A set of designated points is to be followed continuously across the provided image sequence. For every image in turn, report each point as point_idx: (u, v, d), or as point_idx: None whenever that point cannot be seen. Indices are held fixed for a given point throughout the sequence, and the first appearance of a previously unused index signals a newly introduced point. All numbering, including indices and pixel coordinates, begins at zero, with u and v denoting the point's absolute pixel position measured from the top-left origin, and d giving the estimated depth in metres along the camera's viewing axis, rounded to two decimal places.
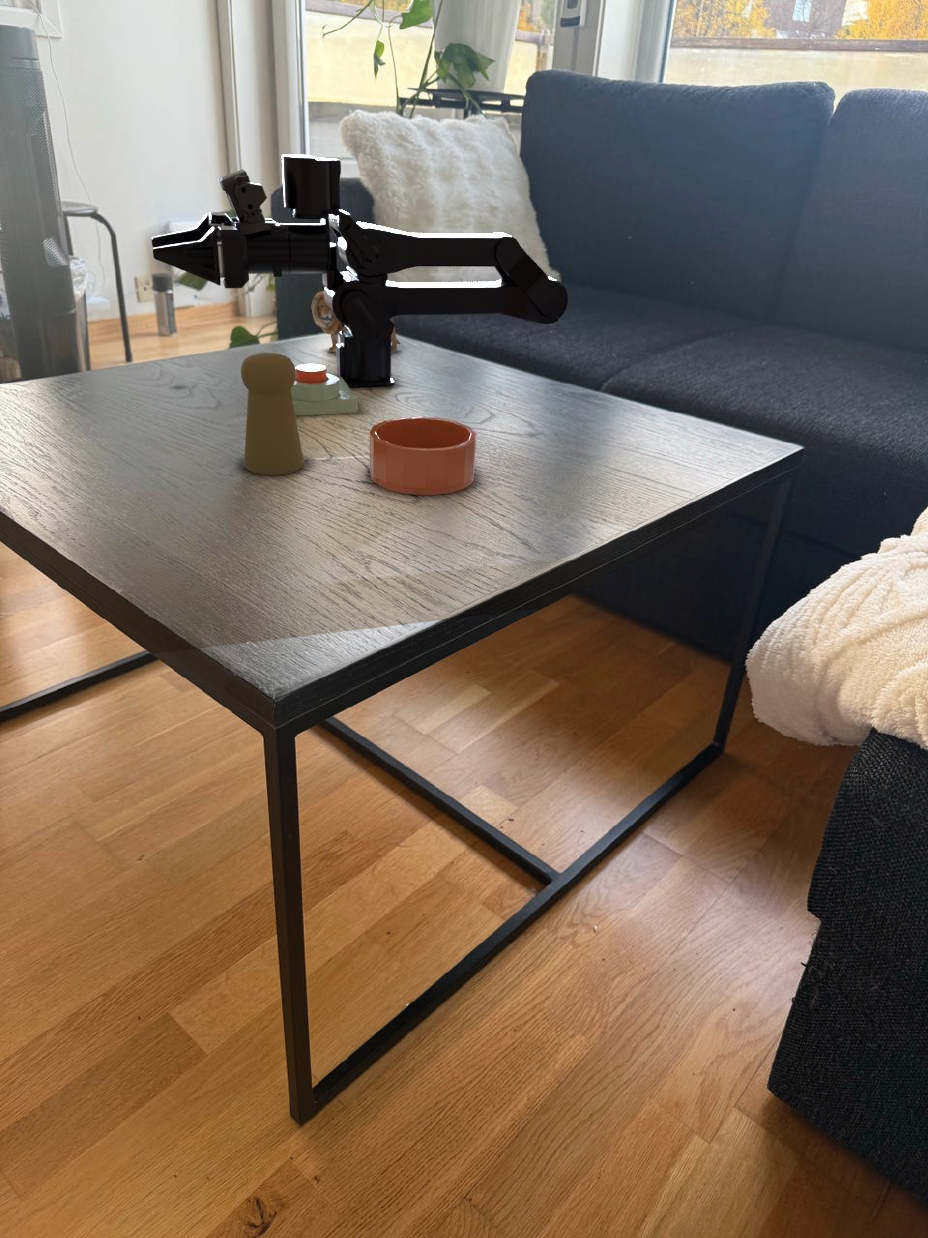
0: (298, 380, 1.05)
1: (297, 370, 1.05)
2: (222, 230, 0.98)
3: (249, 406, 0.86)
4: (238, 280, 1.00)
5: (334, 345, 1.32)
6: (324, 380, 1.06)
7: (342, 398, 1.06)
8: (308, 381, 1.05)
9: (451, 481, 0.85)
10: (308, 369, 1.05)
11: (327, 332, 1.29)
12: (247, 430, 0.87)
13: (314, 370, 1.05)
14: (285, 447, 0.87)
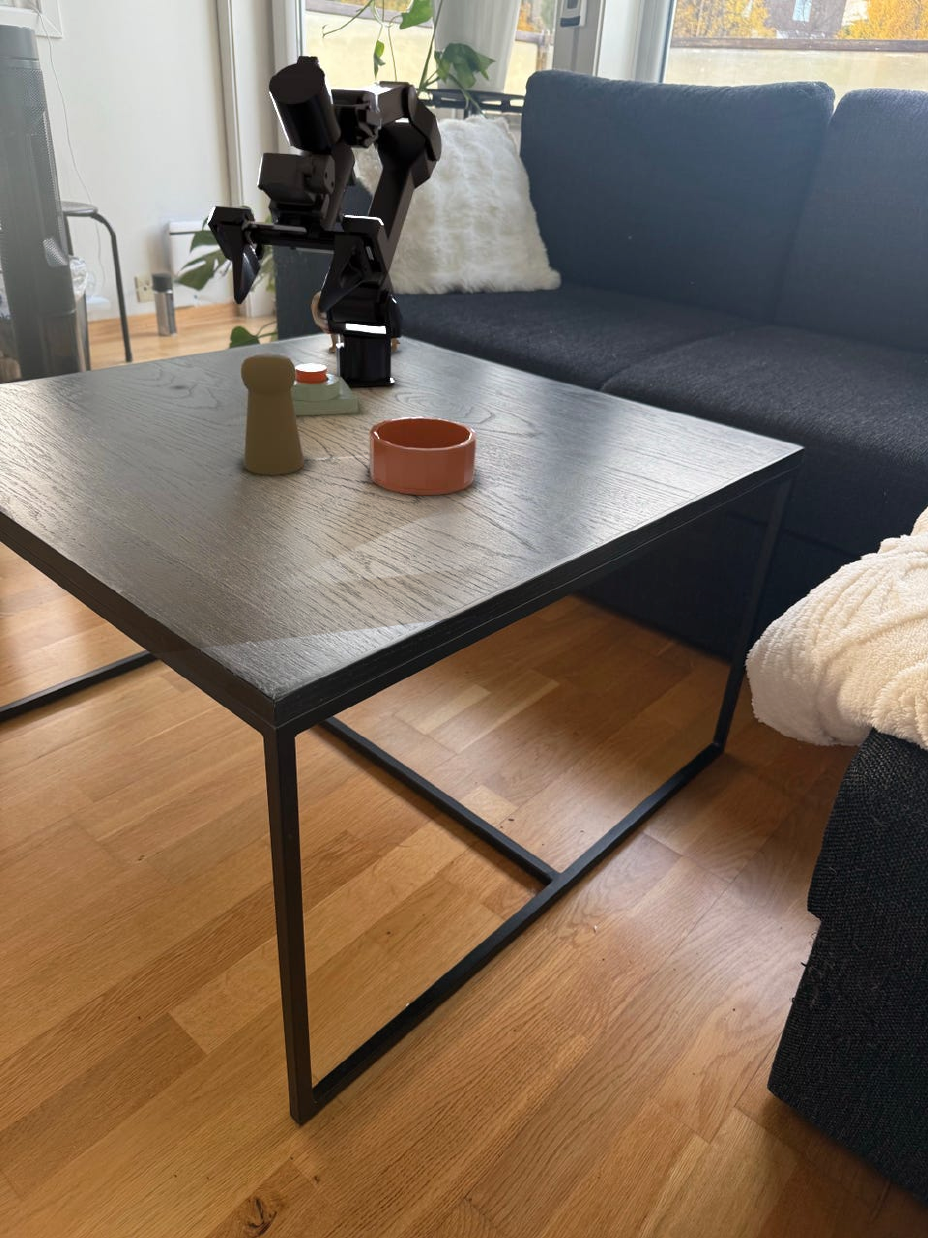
0: (298, 380, 1.05)
1: (297, 370, 1.05)
2: (371, 232, 0.89)
3: (249, 406, 0.86)
4: (390, 258, 0.94)
5: (334, 345, 1.32)
6: (324, 380, 1.06)
7: (342, 398, 1.06)
8: (308, 381, 1.05)
9: (451, 481, 0.85)
10: (308, 369, 1.05)
11: (327, 332, 1.29)
12: (247, 430, 0.87)
13: (314, 370, 1.05)
14: (285, 447, 0.87)
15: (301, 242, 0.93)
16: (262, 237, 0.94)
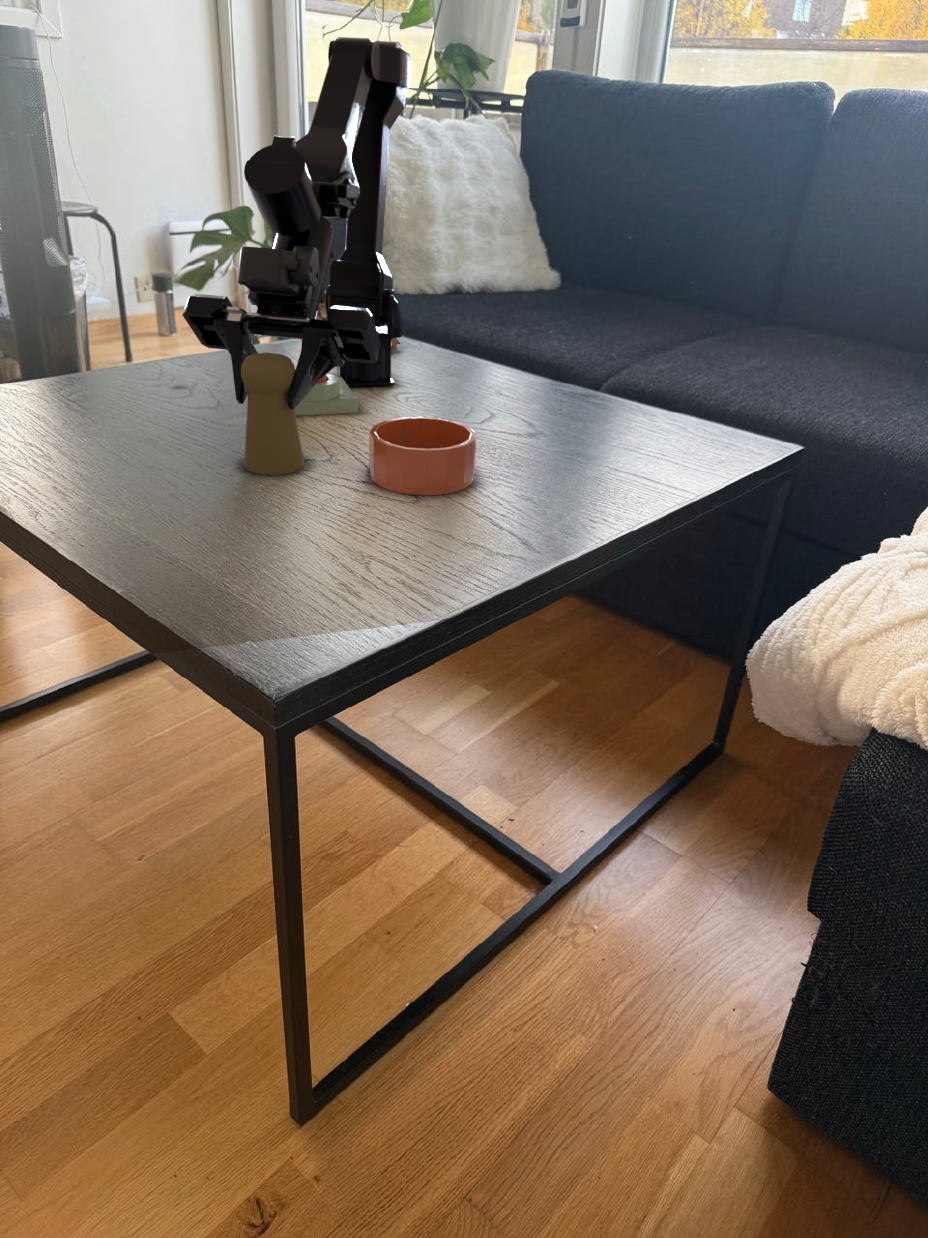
0: None
1: None
2: (361, 326, 0.84)
3: (249, 406, 0.86)
4: (378, 345, 0.89)
5: None
6: (324, 380, 1.06)
7: (342, 398, 1.06)
8: None
9: (451, 481, 0.85)
10: None
11: None
12: (247, 430, 0.87)
13: None
14: (285, 447, 0.87)
15: (285, 332, 0.88)
16: None
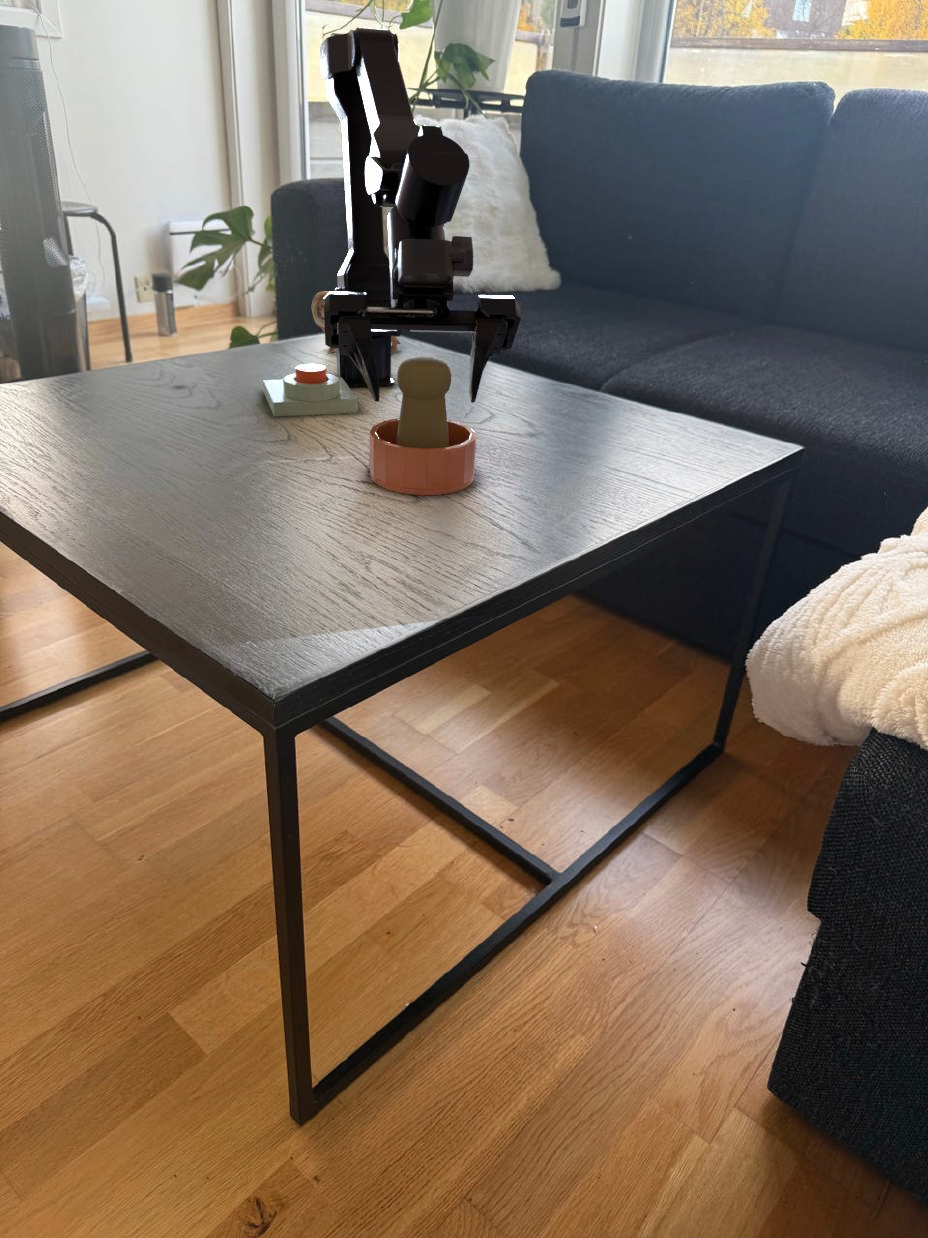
0: (298, 380, 1.05)
1: (297, 370, 1.05)
2: (516, 313, 0.85)
3: (409, 413, 0.85)
4: None
5: None
6: (324, 380, 1.06)
7: (342, 398, 1.06)
8: (308, 381, 1.05)
9: (451, 481, 0.85)
10: (308, 369, 1.05)
11: None
12: (404, 437, 0.86)
13: (314, 370, 1.05)
14: None
15: (426, 325, 0.86)
16: (379, 322, 0.85)
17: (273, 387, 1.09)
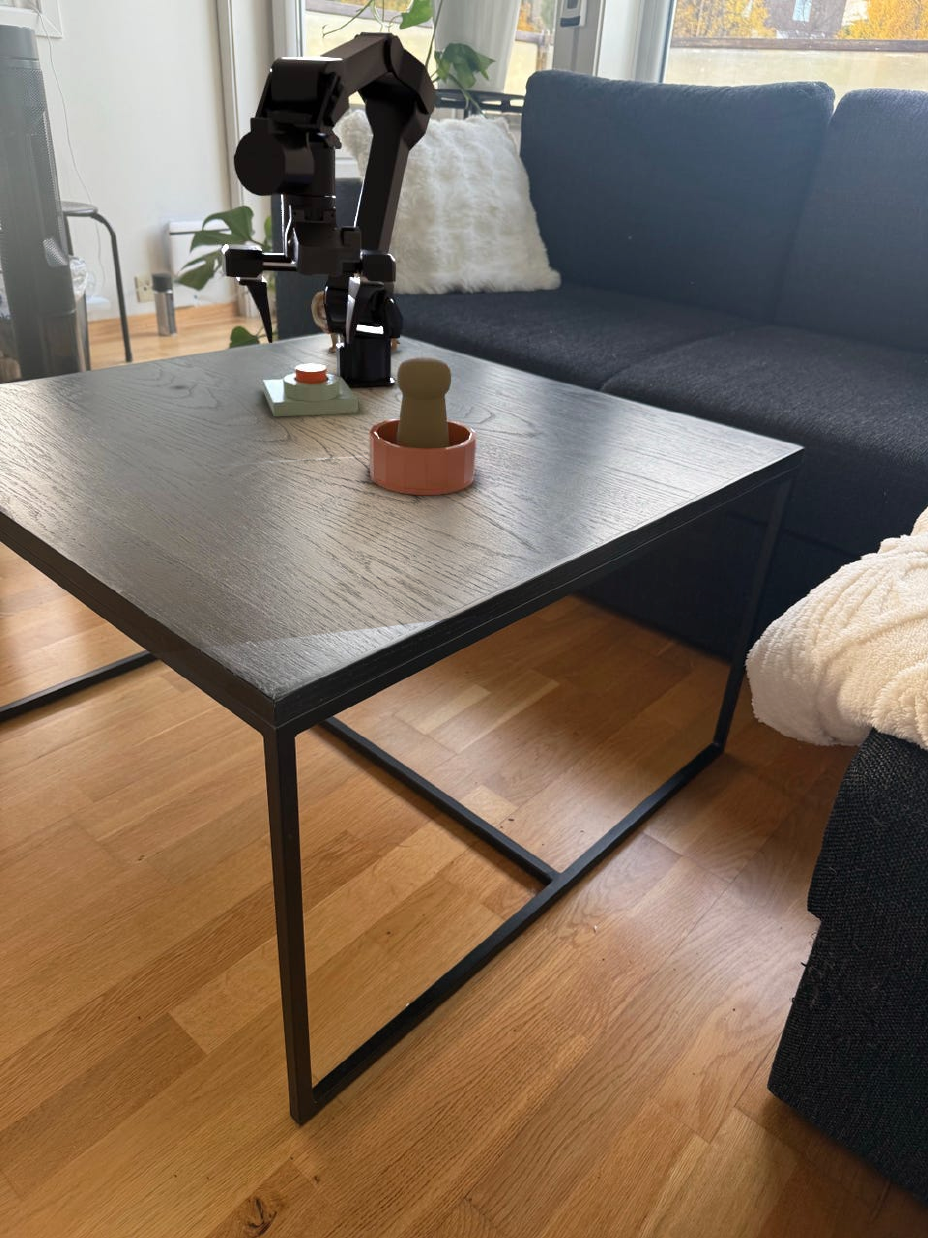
0: (298, 380, 1.05)
1: (297, 370, 1.05)
2: (392, 279, 1.00)
3: (409, 413, 0.85)
4: None
5: (334, 345, 1.32)
6: (324, 380, 1.06)
7: (342, 398, 1.06)
8: (308, 381, 1.05)
9: (451, 481, 0.85)
10: (308, 369, 1.05)
11: (327, 332, 1.29)
12: (404, 437, 0.86)
13: (314, 370, 1.05)
14: None
15: None
16: (273, 268, 0.98)
17: (273, 387, 1.09)
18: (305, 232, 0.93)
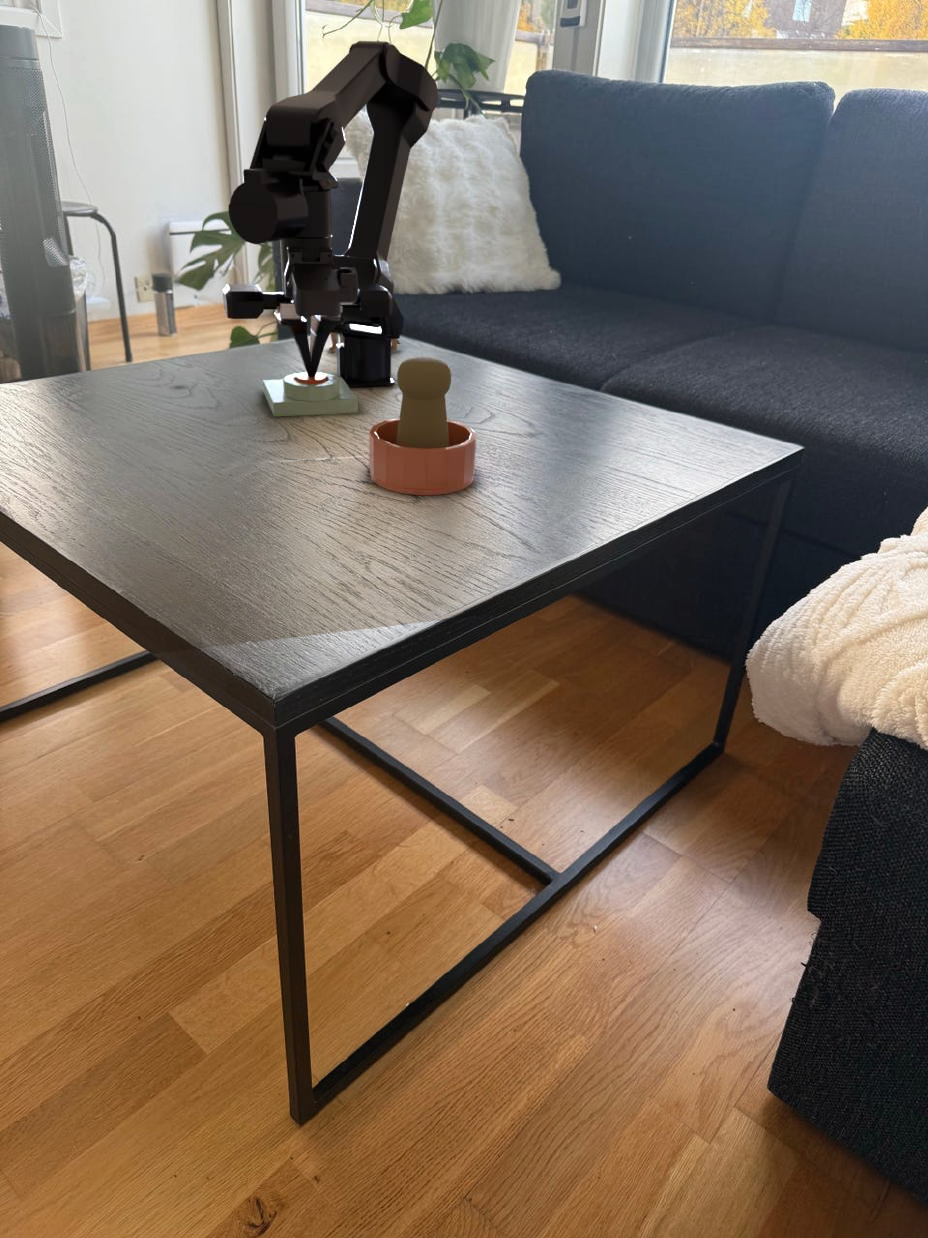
0: None
1: (297, 379, 1.05)
2: (389, 314, 1.02)
3: (409, 413, 0.85)
4: None
5: (334, 345, 1.32)
6: None
7: (342, 398, 1.06)
8: None
9: (451, 481, 0.85)
10: (308, 378, 1.05)
11: None
12: (404, 437, 0.86)
13: (314, 379, 1.05)
14: None
15: None
16: (273, 307, 1.01)
17: (273, 387, 1.09)
18: (303, 275, 0.95)
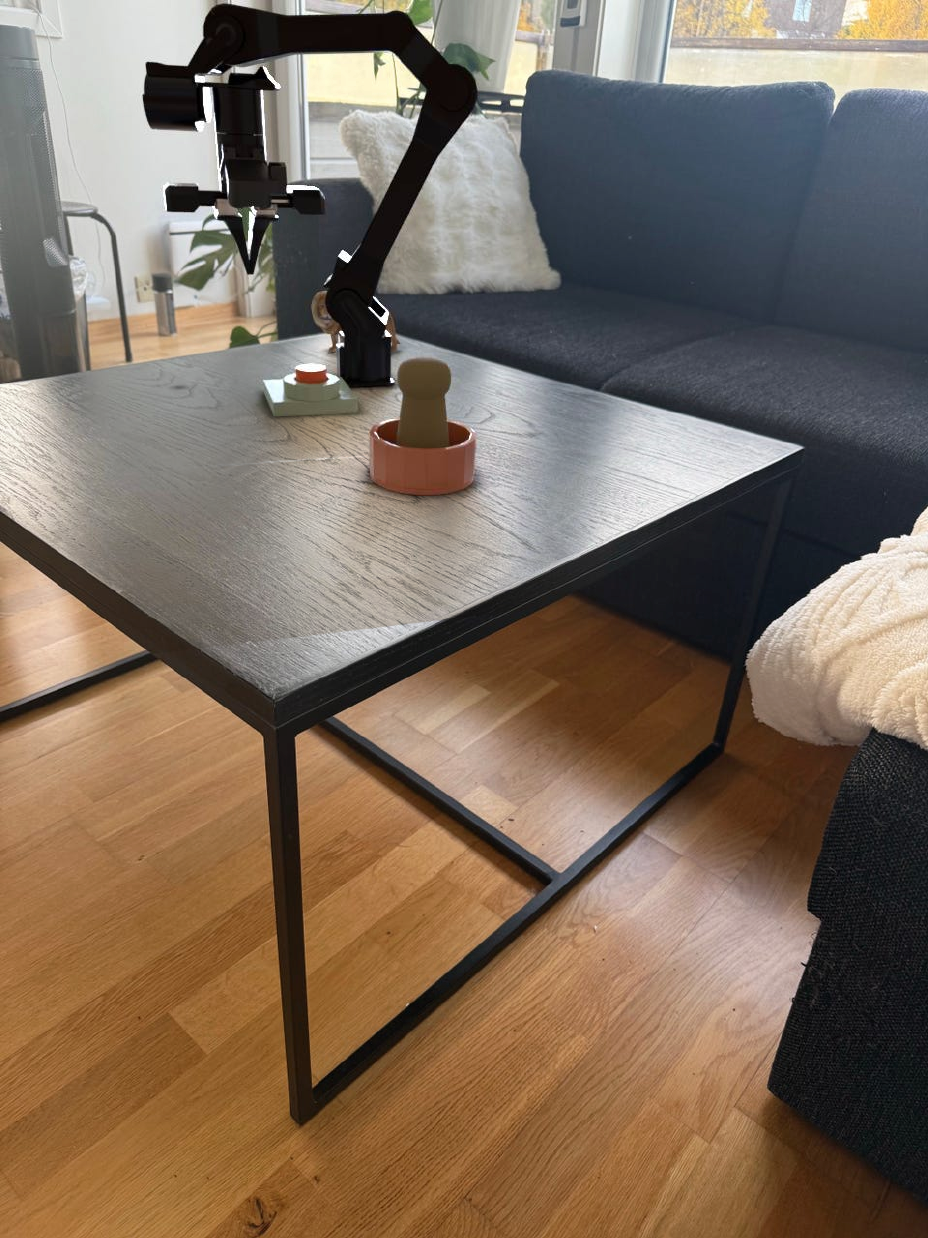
0: (298, 380, 1.05)
1: (297, 370, 1.05)
2: (321, 212, 1.09)
3: (409, 413, 0.85)
4: None
5: (334, 345, 1.32)
6: (324, 380, 1.06)
7: (342, 398, 1.06)
8: (308, 381, 1.05)
9: (451, 481, 0.85)
10: (308, 369, 1.05)
11: (327, 332, 1.29)
12: (404, 437, 0.86)
13: (314, 370, 1.05)
14: None
15: None
16: (211, 204, 1.07)
17: (273, 387, 1.09)
18: (235, 168, 1.01)
